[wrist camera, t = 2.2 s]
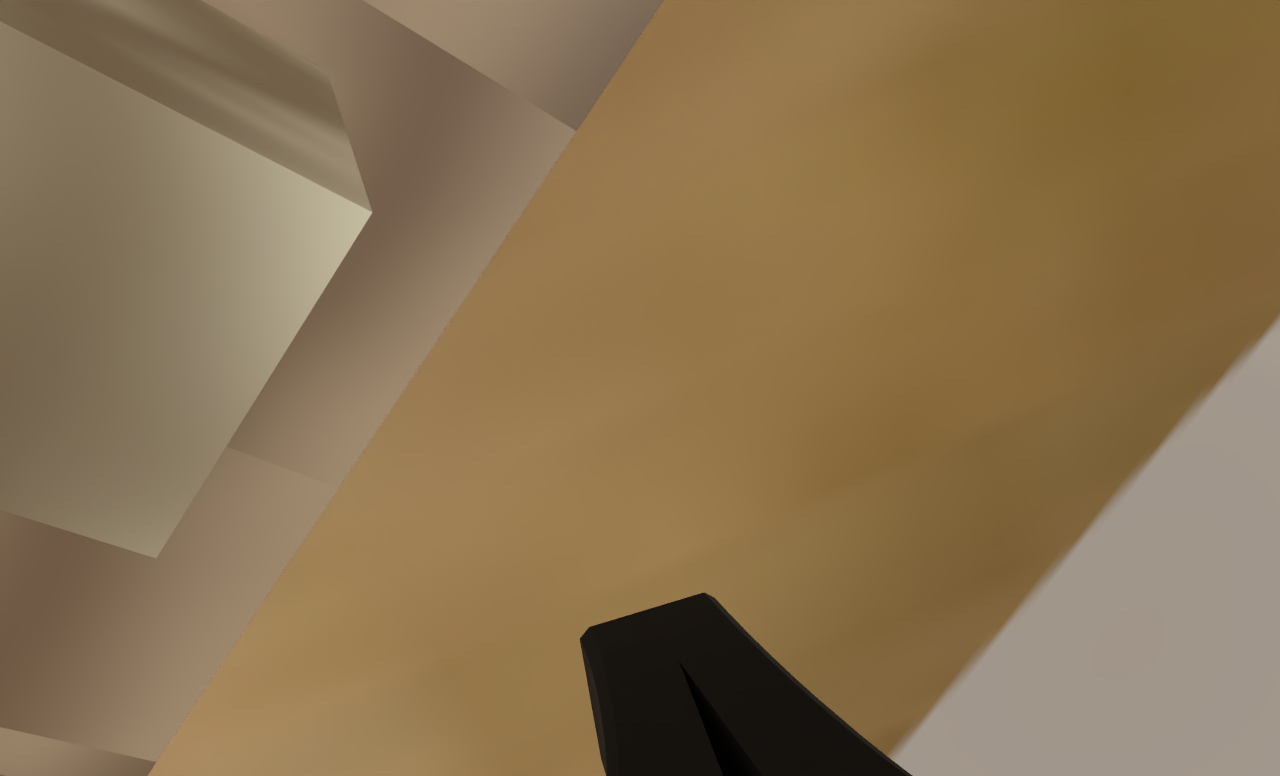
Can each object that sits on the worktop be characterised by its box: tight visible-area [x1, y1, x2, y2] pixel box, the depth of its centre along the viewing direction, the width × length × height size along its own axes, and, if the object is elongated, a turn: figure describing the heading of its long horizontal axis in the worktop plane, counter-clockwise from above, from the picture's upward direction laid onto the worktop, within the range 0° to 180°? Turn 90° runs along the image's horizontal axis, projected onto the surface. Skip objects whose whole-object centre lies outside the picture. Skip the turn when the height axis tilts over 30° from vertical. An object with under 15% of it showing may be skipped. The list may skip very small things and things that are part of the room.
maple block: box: [0, 0, 372, 558], centre depth 13 cm, size 4×4×4 cm
